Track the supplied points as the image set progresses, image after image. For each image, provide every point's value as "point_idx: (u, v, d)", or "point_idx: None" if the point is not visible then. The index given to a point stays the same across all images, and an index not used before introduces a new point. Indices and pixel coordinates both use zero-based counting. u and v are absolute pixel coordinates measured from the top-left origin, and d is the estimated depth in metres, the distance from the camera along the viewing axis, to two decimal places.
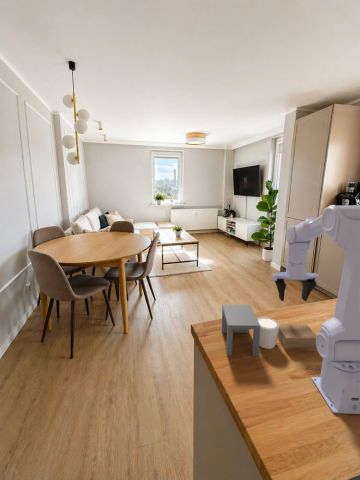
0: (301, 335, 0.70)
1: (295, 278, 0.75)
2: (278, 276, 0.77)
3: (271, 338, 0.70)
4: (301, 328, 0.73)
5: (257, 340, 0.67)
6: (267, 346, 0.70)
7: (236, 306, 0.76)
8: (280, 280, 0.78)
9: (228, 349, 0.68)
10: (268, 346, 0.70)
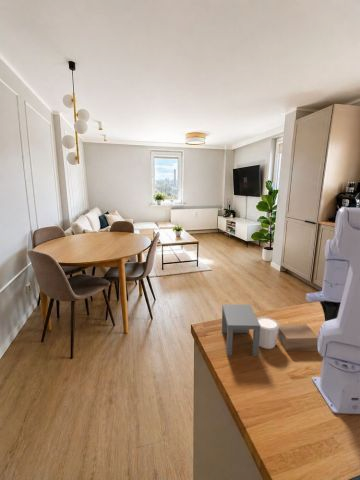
0: (301, 335, 0.70)
1: (334, 300, 0.66)
2: (314, 297, 0.68)
3: (271, 338, 0.70)
4: (301, 328, 0.73)
5: (257, 340, 0.67)
6: (267, 346, 0.70)
7: (236, 306, 0.76)
8: None
9: (228, 349, 0.68)
10: (268, 346, 0.70)
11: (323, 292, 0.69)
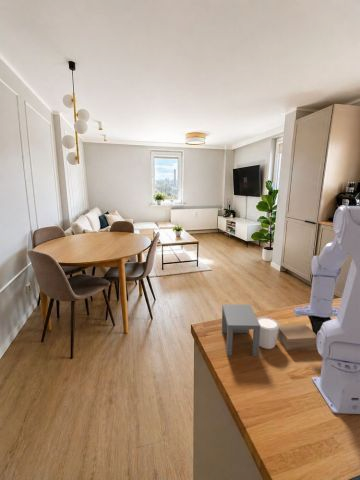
0: (302, 335, 0.70)
1: (321, 315, 0.67)
2: (301, 312, 0.69)
3: (271, 338, 0.70)
4: (300, 328, 0.73)
5: (257, 340, 0.67)
6: (267, 346, 0.70)
7: (236, 306, 0.76)
8: None
9: (228, 349, 0.68)
10: (268, 346, 0.70)
11: (310, 307, 0.70)
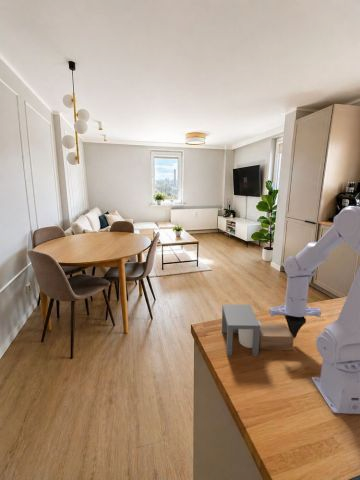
0: (277, 333, 0.70)
1: (295, 315, 0.68)
2: (276, 312, 0.70)
3: (252, 337, 0.70)
4: (278, 326, 0.74)
5: (257, 340, 0.67)
6: (249, 345, 0.71)
7: (236, 306, 0.76)
8: None
9: (228, 349, 0.68)
10: (250, 345, 0.71)
11: (285, 306, 0.70)
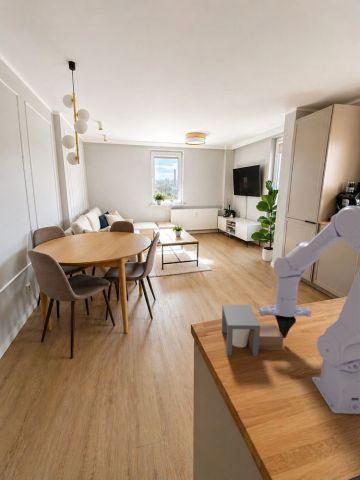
0: (266, 334, 0.70)
1: (284, 315, 0.68)
2: (266, 312, 0.70)
3: (241, 337, 0.70)
4: (268, 326, 0.74)
5: (257, 340, 0.67)
6: (238, 345, 0.71)
7: (236, 306, 0.76)
8: None
9: (228, 349, 0.68)
10: (239, 345, 0.71)
11: (275, 306, 0.71)
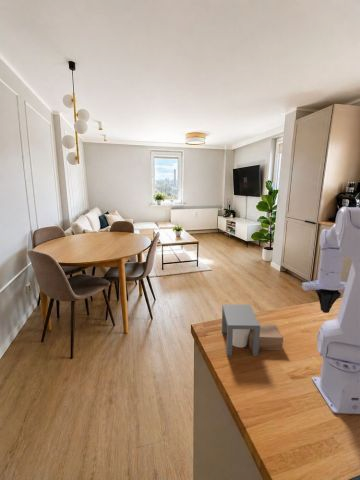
0: (266, 334, 0.70)
1: (330, 288, 0.67)
2: (310, 286, 0.69)
3: (241, 337, 0.70)
4: (268, 327, 0.74)
5: (257, 340, 0.67)
6: (238, 345, 0.71)
7: (236, 306, 0.76)
8: None
9: (228, 349, 0.68)
10: (239, 345, 0.71)
11: (319, 281, 0.70)
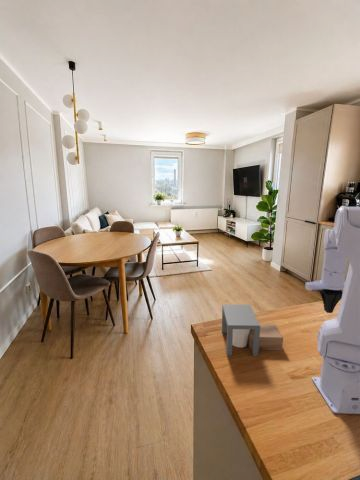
0: (266, 334, 0.70)
1: (333, 288, 0.68)
2: (313, 286, 0.69)
3: (241, 337, 0.70)
4: (268, 327, 0.74)
5: (257, 340, 0.67)
6: (238, 345, 0.71)
7: (236, 306, 0.76)
8: None
9: (228, 349, 0.68)
10: (239, 345, 0.71)
11: (322, 281, 0.70)
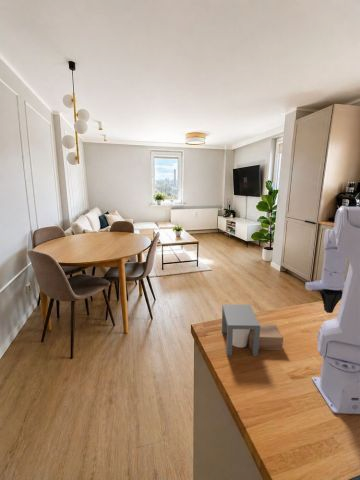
0: (266, 334, 0.70)
1: (333, 288, 0.68)
2: (313, 286, 0.69)
3: (241, 337, 0.70)
4: (268, 327, 0.74)
5: (257, 340, 0.67)
6: (238, 345, 0.71)
7: (236, 306, 0.76)
8: None
9: (228, 349, 0.68)
10: (239, 345, 0.71)
11: (322, 281, 0.70)
